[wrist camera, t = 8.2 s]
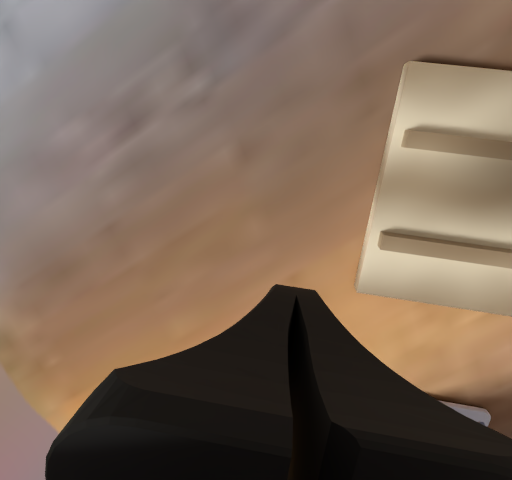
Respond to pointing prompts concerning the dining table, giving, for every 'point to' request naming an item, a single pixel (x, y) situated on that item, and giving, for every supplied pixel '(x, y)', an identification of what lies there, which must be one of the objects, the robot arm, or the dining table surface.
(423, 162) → the collar rig
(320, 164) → the dining table surface
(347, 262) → the dining table surface
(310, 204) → the dining table surface
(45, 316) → the dining table surface
